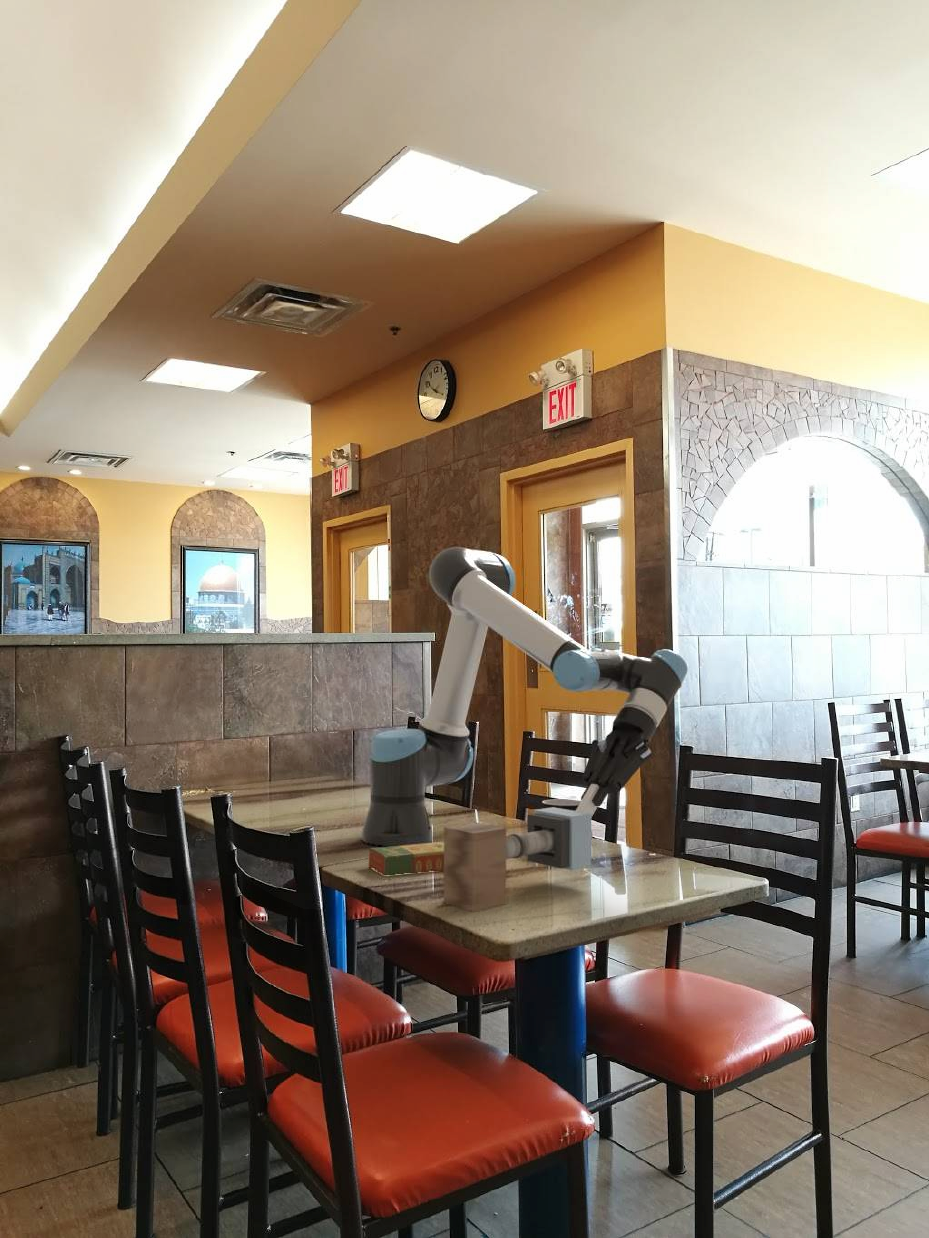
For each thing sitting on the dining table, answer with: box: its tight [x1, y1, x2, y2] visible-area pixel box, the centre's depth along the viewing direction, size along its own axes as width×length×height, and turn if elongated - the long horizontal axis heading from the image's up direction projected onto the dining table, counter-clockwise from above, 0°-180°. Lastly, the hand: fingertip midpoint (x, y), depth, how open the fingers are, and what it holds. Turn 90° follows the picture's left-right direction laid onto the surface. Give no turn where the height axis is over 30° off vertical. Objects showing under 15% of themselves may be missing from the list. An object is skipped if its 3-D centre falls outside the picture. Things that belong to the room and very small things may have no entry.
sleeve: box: [533, 807, 592, 871], centre depth 165 cm, size 9×5×9 cm, turn 42°
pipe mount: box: [443, 822, 593, 913], centre depth 159 cm, size 7×30×12 cm, turn 132°
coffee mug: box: [541, 798, 582, 811], centre depth 195 cm, size 12×9×10 cm
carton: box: [368, 841, 444, 875], centre depth 177 cm, size 8×16×4 cm, turn 116°
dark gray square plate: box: [526, 812, 570, 869], centre depth 163 cm, size 8×2×8 cm, turn 42°
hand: (581, 817), depth 167 cm, fingers closed
